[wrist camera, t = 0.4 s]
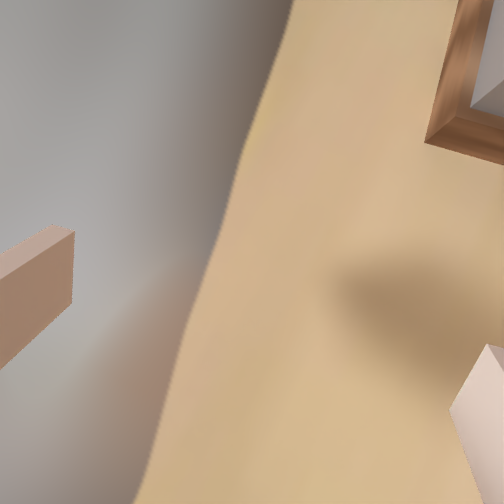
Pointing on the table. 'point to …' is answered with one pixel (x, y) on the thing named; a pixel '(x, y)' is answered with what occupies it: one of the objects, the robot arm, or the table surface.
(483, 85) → the grey top slab
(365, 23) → the table surface
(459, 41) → the walnut base slab
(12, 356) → the robot arm
